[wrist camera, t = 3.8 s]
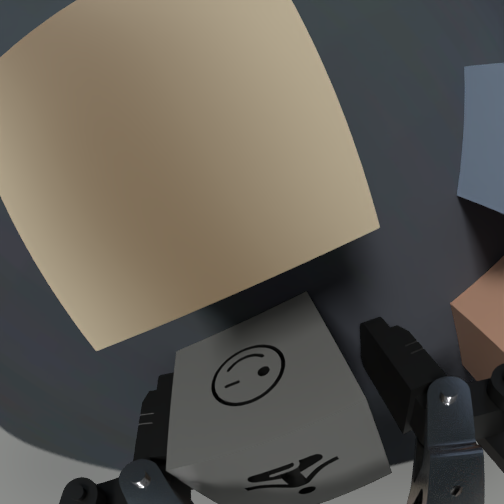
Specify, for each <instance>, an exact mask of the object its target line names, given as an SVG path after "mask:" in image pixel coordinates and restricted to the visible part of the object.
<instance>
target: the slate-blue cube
mask: <svg viewBox="0 0 504 504" xmlns="http://www.w3.org/2000/svg"><path fill="white" fill-rule="evenodd" d="M464 70H465V111H464V132H463V146H462V157H461V167H460V176H459V183H458V191H457V196H460V197H462V198H465V199H468V200H470V201H473V202H475V203H478V204H480V205H483V206H486V207H488V208H490V209H493V210H495V211H498V212H500V213H503V214H504V63H496V64H485V65H475V66H466V67H464Z"/></svg>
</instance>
